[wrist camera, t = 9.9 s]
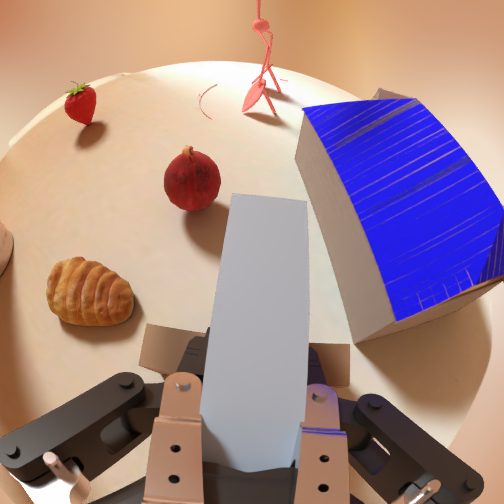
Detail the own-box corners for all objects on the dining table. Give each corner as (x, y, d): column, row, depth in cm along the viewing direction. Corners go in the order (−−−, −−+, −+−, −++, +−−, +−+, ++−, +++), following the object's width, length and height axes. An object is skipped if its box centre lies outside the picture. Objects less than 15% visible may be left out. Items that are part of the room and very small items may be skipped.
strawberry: (68, 139, 37) (51, 95, 28) (81, 117, 40) (68, 77, 32) (95, 132, 37) (80, 84, 29) (107, 111, 41) (95, 68, 32)
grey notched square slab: (264, 436, 14) (298, 478, 6) (217, 432, 14) (193, 471, 6) (275, 295, 19) (306, 201, 11) (233, 291, 19) (232, 193, 11)
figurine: (288, 78, 50) (302, -61, 20) (274, 139, 37) (295, -94, 7) (220, 72, 51) (219, -63, 21) (174, 130, 38) (153, -81, 8)
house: (460, 312, 24) (553, 242, 11) (350, 348, 23) (472, 270, 9) (387, 161, 37) (425, 78, 23) (291, 158, 35) (312, 51, 21)
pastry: (145, 276, 25) (133, 257, 22) (128, 343, 22) (111, 332, 18) (73, 263, 25) (57, 245, 22) (54, 319, 22) (33, 307, 18)
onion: (231, 211, 29) (231, 154, 22) (183, 234, 27) (170, 179, 21) (206, 180, 32) (202, 125, 25) (163, 199, 30) (148, 145, 23)
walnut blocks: (160, 373, 20) (138, 365, 16) (165, 340, 22) (146, 323, 17) (324, 389, 20) (349, 386, 16) (325, 356, 22) (349, 344, 17)
